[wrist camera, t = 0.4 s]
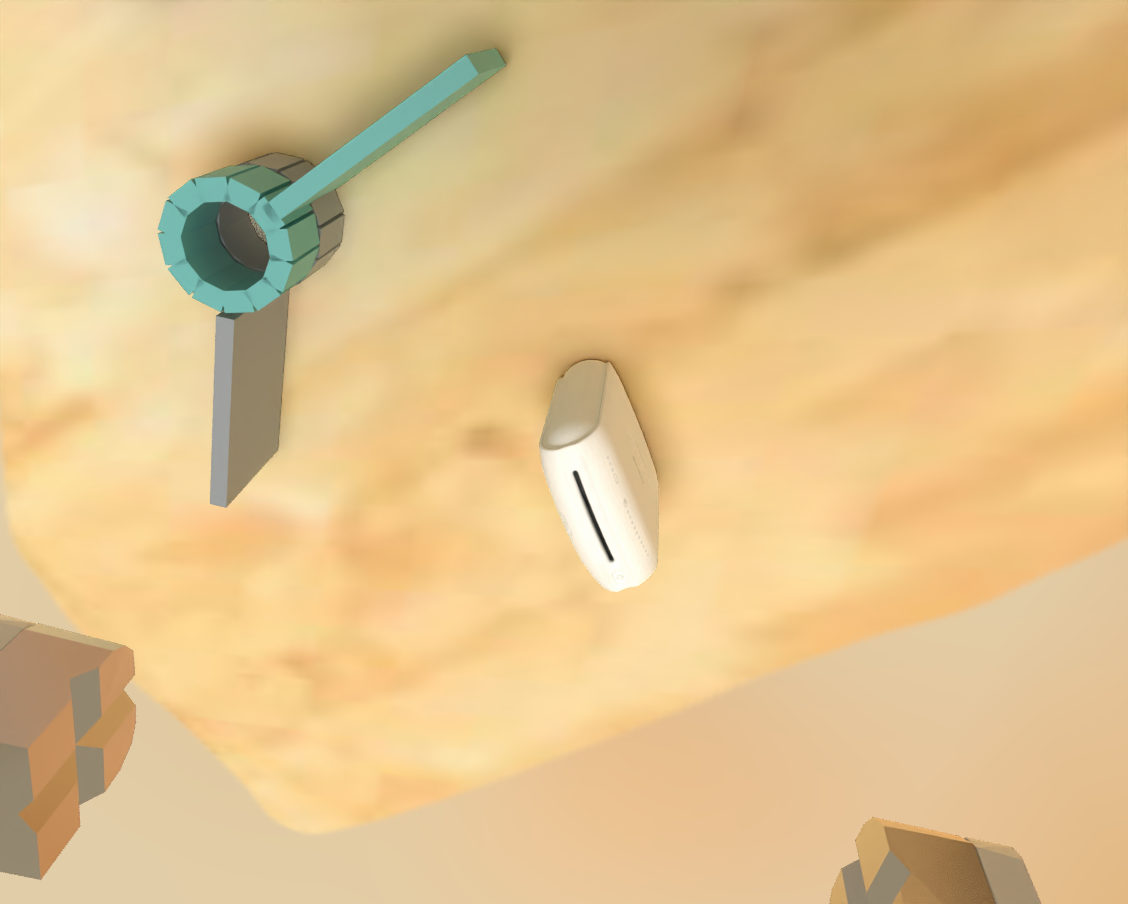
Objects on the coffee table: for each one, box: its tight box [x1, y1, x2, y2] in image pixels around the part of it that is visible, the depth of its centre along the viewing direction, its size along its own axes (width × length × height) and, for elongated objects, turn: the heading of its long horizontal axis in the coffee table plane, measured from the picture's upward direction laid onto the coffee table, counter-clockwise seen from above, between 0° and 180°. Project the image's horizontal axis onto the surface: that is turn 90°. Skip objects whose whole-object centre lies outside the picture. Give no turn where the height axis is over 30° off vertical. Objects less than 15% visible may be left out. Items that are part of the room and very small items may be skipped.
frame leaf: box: [210, 152, 344, 507], centre depth 54 cm, size 20×7×8 cm, turn 168°
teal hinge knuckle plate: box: [158, 48, 506, 313], centre depth 49 cm, size 20×7×8 cm, turn 123°
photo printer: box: [539, 360, 659, 592], centre depth 53 cm, size 10×4×12 cm, turn 21°
